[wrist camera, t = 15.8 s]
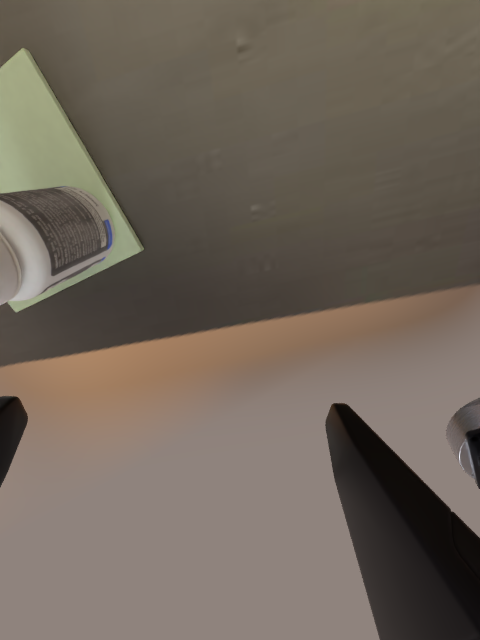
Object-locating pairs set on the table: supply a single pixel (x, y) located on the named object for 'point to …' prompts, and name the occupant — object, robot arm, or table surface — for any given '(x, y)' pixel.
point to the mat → (50, 157)
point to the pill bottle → (49, 239)
